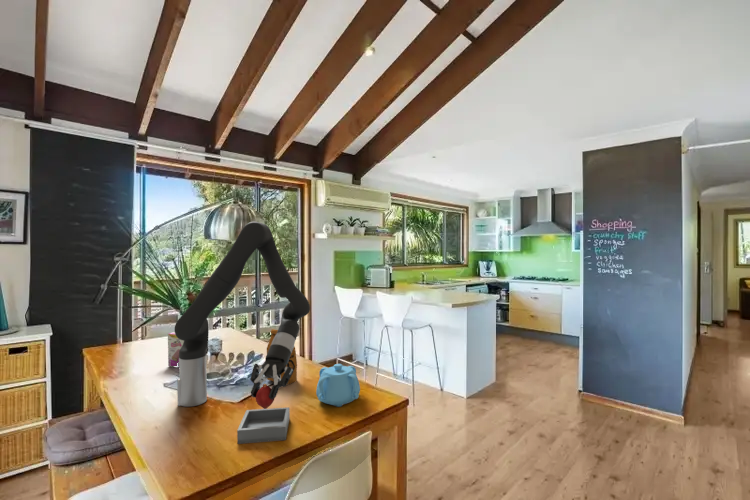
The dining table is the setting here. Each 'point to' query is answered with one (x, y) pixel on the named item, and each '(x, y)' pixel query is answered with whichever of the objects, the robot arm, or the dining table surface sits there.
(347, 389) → the decorative pot
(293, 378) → the coffee package
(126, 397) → the dining table surface
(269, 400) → the onion
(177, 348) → the candy bar box
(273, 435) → the bin
